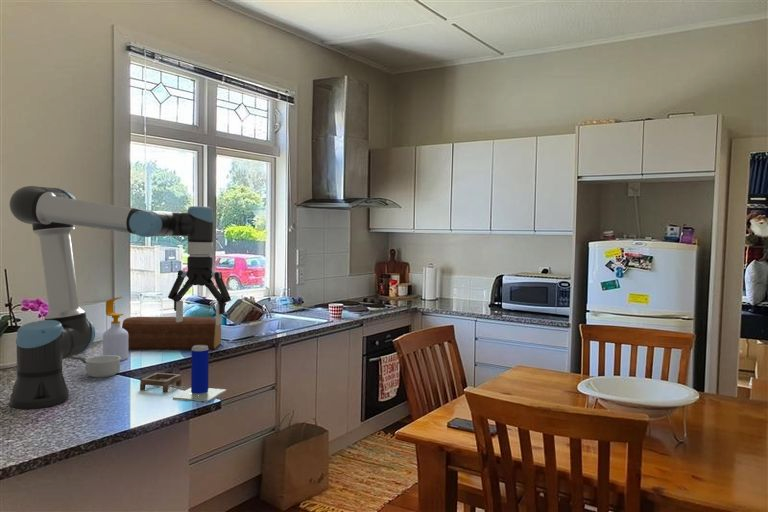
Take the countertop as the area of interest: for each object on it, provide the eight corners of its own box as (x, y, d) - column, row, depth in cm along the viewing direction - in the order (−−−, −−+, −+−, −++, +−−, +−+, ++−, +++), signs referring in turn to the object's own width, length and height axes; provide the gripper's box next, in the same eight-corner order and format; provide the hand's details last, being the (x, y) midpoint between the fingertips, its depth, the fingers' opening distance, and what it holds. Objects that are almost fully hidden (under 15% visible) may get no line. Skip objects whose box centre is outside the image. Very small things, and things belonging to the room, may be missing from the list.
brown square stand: (166, 392, 182) (166, 381, 182) (139, 390, 183) (140, 379, 183) (181, 385, 191) (181, 374, 191) (156, 383, 193) (156, 372, 192)
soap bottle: (118, 362, 219) (118, 298, 218) (97, 360, 221) (97, 297, 220) (133, 357, 228) (133, 296, 227) (113, 355, 230) (113, 295, 229)
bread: (215, 350, 244) (215, 319, 244) (120, 350, 240) (120, 319, 240) (221, 343, 260) (221, 314, 259) (133, 343, 256) (133, 313, 255)
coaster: (208, 402, 173) (208, 400, 173) (172, 399, 176) (172, 397, 176) (226, 391, 185) (226, 389, 185) (192, 388, 187) (192, 386, 187)
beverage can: (202, 389, 184) (202, 343, 183) (211, 393, 181) (212, 346, 180) (187, 393, 180) (188, 346, 179) (197, 396, 177) (197, 348, 176)
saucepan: (79, 367, 211) (79, 352, 210) (127, 371, 207) (127, 356, 206) (56, 375, 199) (56, 359, 199) (106, 379, 195) (106, 363, 195)
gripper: (242, 256, 180) (241, 323, 181) (170, 253, 185) (169, 318, 186) (231, 257, 173) (230, 327, 174) (157, 254, 177) (156, 322, 178)
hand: (199, 322), depth 180 cm, fingers open, 13 cm apart
